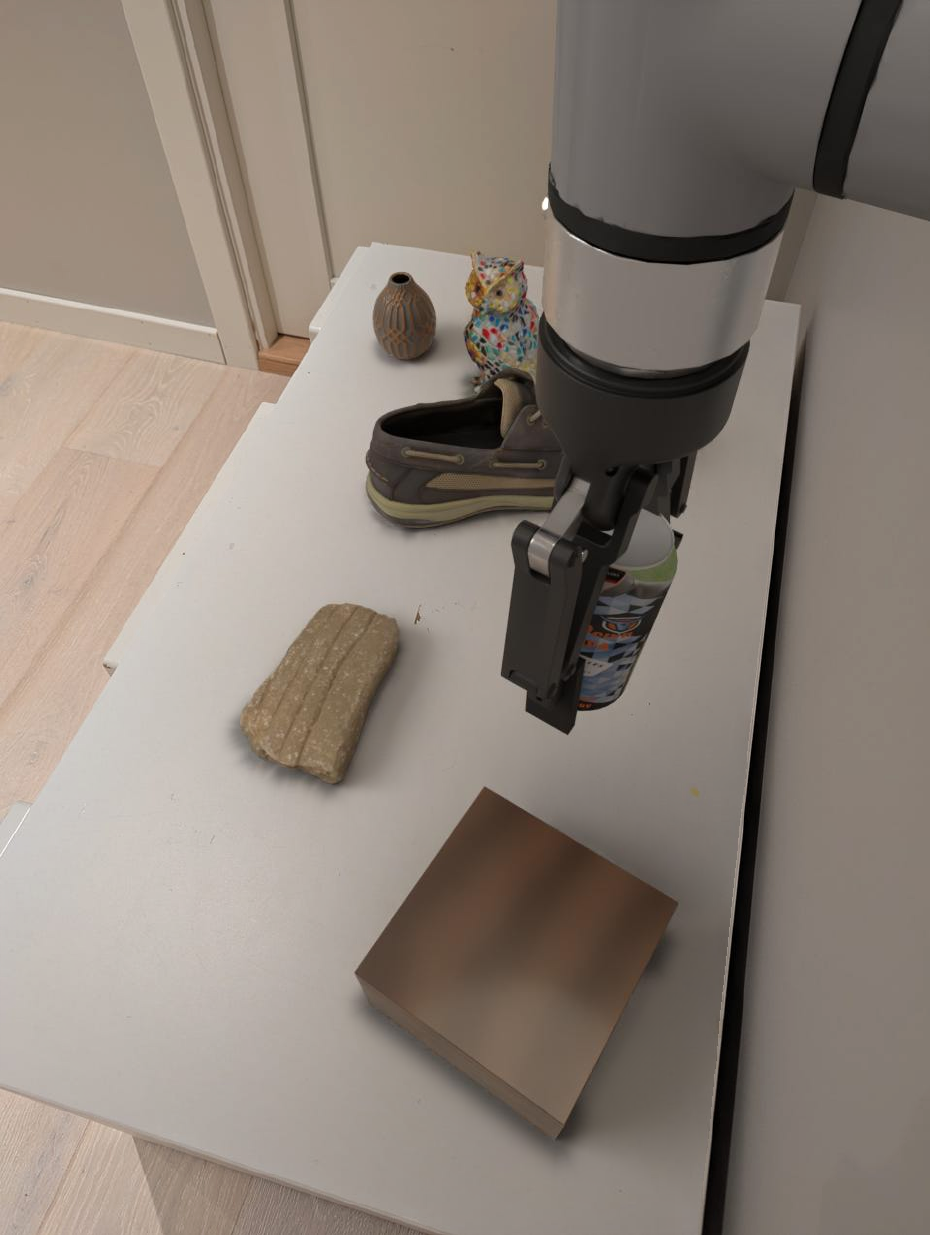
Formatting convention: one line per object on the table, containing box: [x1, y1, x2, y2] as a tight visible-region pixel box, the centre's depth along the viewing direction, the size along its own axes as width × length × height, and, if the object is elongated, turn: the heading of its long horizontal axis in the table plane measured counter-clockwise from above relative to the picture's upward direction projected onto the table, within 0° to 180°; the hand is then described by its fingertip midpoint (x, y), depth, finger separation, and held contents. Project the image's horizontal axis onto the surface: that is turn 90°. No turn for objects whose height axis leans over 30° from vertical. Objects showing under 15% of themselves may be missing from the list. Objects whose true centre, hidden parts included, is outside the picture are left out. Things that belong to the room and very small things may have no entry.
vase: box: [372, 271, 437, 361], centre depth 93 cm, size 7×7×9 cm
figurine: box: [463, 249, 540, 396], centre depth 86 cm, size 9×9×15 cm
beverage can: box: [577, 509, 679, 712], centre depth 45 cm, size 6×7×12 cm
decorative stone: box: [239, 602, 400, 785], centre depth 69 cm, size 10×16×4 cm, turn 162°
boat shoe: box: [365, 368, 562, 529], centre depth 80 cm, size 11×29×11 cm, turn 110°
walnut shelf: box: [354, 785, 680, 1141], centre depth 54 cm, size 14×14×8 cm
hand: (585, 666), depth 49 cm, fingers closed on beverage can, 7 cm apart
